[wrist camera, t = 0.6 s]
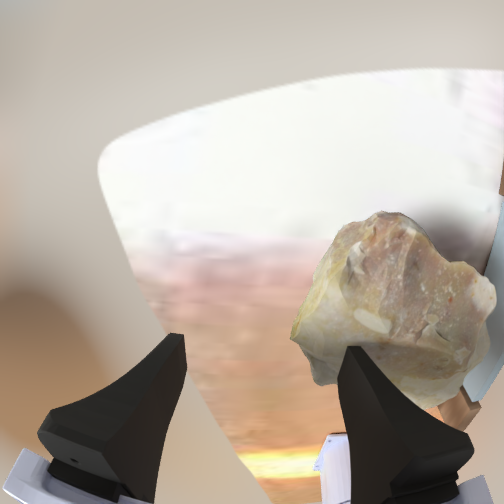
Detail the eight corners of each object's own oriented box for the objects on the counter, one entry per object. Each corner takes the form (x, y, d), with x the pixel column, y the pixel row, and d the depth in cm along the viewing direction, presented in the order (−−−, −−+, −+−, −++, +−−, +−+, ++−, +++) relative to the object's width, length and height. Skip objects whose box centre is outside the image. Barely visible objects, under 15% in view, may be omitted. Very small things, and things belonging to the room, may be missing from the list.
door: (457, 359, 24) (481, 399, 18) (448, 360, 24) (472, 402, 18) (511, 203, 18) (558, 227, 12) (502, 201, 18) (550, 225, 12)
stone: (515, 204, 12) (561, 278, 5) (460, 380, 18) (430, 487, 11) (357, 178, 19) (274, 220, 12) (345, 347, 24) (281, 432, 17)
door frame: (439, 386, 26) (461, 433, 19) (429, 388, 26) (450, 436, 19) (515, 150, 16) (574, 166, 10) (505, 146, 16) (565, 161, 10)
